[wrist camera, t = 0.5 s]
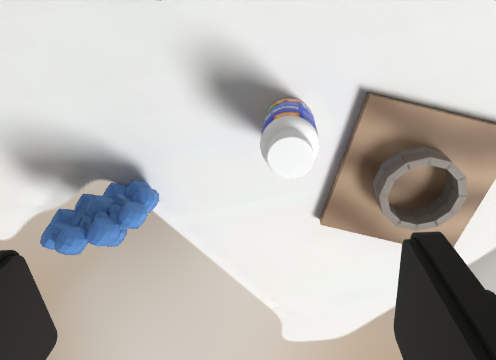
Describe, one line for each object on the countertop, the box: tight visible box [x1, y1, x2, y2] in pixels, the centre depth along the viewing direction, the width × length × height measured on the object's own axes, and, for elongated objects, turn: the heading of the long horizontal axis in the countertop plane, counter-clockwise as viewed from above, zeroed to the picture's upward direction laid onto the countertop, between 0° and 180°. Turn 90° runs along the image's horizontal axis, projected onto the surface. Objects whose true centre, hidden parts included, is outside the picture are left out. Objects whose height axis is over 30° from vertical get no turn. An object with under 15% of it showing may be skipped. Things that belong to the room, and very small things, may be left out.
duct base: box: [320, 93, 496, 247], centre depth 39 cm, size 16×16×4 cm
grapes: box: [40, 180, 159, 255], centre depth 39 cm, size 12×7×12 cm, turn 103°
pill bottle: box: [260, 98, 319, 179], centre depth 34 cm, size 5×5×10 cm
